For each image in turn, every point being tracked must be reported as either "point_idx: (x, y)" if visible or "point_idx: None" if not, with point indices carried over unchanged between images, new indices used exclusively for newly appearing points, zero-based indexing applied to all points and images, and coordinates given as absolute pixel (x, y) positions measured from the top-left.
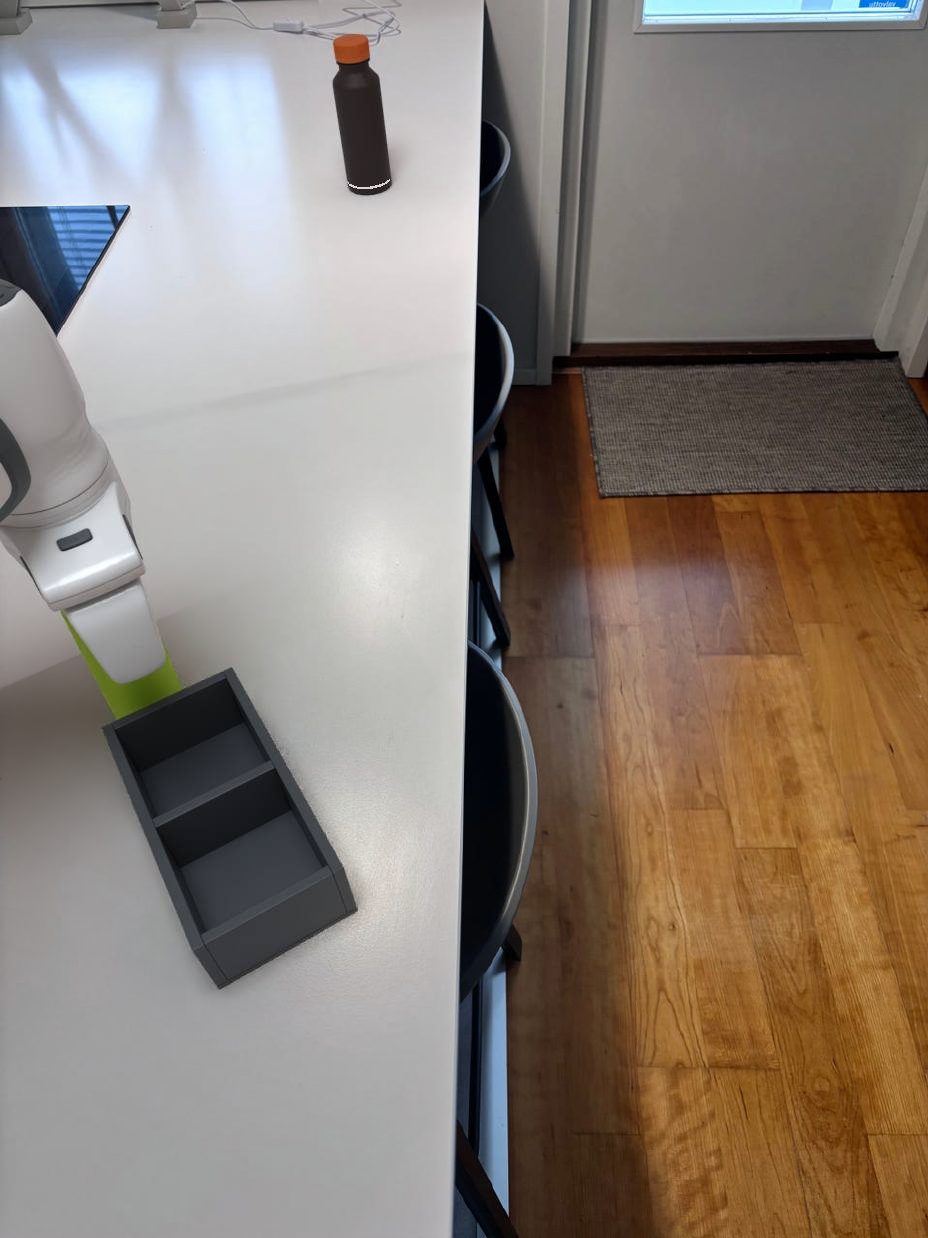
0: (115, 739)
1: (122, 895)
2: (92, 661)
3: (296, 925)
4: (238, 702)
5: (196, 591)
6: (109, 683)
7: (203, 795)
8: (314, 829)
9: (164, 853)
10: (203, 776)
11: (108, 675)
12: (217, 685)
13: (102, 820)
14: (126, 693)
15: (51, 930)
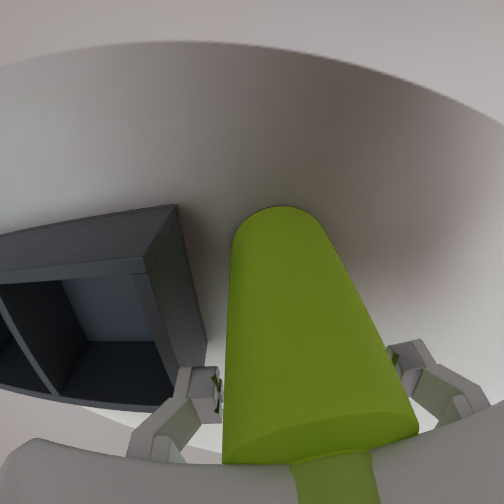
0: (110, 272)
1: (30, 175)
2: (255, 321)
3: None
4: (153, 393)
5: (415, 326)
6: (241, 289)
7: (20, 339)
8: (3, 386)
9: None
10: (133, 288)
11: (6, 465)
12: None
13: (119, 160)
14: (230, 290)
15: (19, 101)
